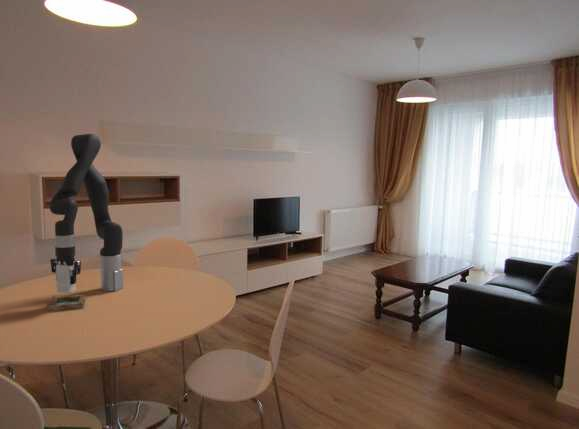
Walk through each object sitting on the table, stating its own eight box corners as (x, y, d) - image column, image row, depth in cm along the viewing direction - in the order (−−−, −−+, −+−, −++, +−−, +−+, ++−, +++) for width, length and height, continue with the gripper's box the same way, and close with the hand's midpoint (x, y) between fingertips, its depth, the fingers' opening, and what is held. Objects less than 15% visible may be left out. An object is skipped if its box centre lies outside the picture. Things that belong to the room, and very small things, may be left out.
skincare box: (76, 290, 177) (75, 263, 176) (69, 293, 173) (69, 265, 172) (63, 289, 178) (62, 262, 176) (56, 292, 174) (55, 265, 172)
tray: (85, 299, 185) (85, 294, 185) (83, 308, 173) (83, 303, 173) (52, 302, 180) (52, 297, 179) (48, 312, 168) (48, 306, 168)
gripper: (85, 244, 175) (86, 282, 177) (58, 242, 179) (59, 279, 181) (72, 248, 168) (73, 287, 170) (44, 245, 171) (45, 283, 173)
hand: (66, 283), depth 175 cm, fingers closed on skincare box, 6 cm apart
